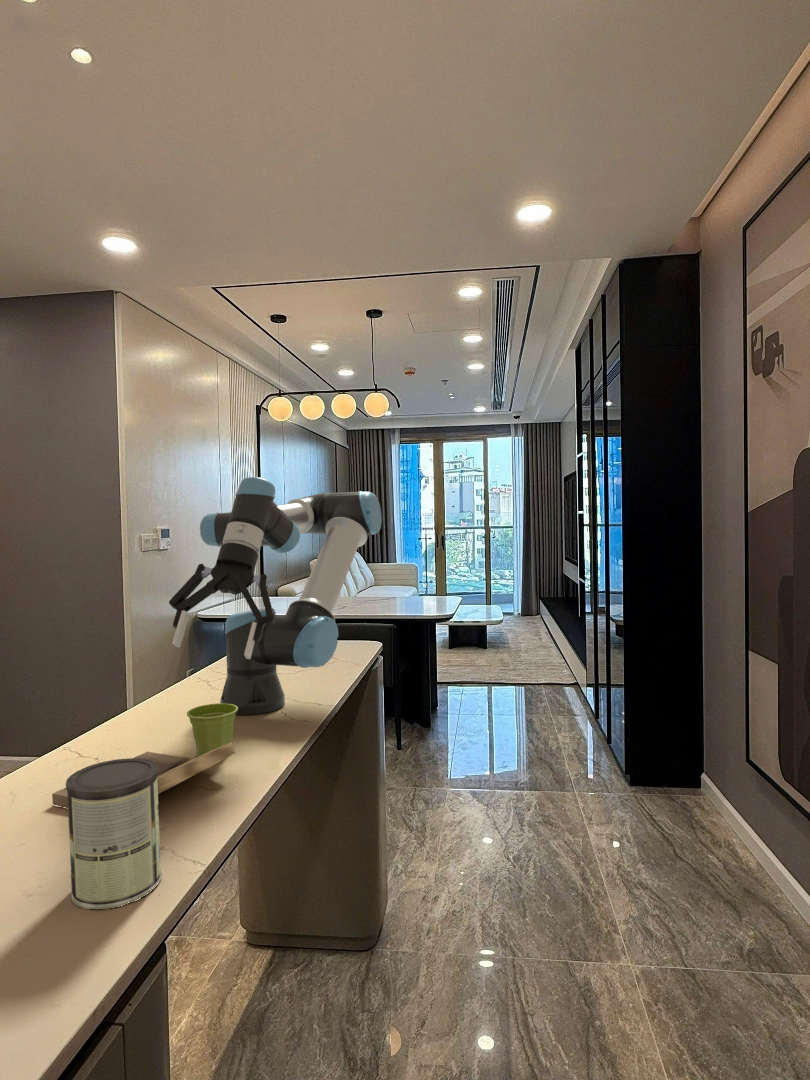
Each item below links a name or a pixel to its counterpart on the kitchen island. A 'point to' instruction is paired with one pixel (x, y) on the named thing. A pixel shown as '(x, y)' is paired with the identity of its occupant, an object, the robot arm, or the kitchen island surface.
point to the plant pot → (212, 726)
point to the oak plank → (193, 767)
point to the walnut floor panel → (161, 760)
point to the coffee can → (113, 832)
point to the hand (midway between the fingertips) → (211, 651)
